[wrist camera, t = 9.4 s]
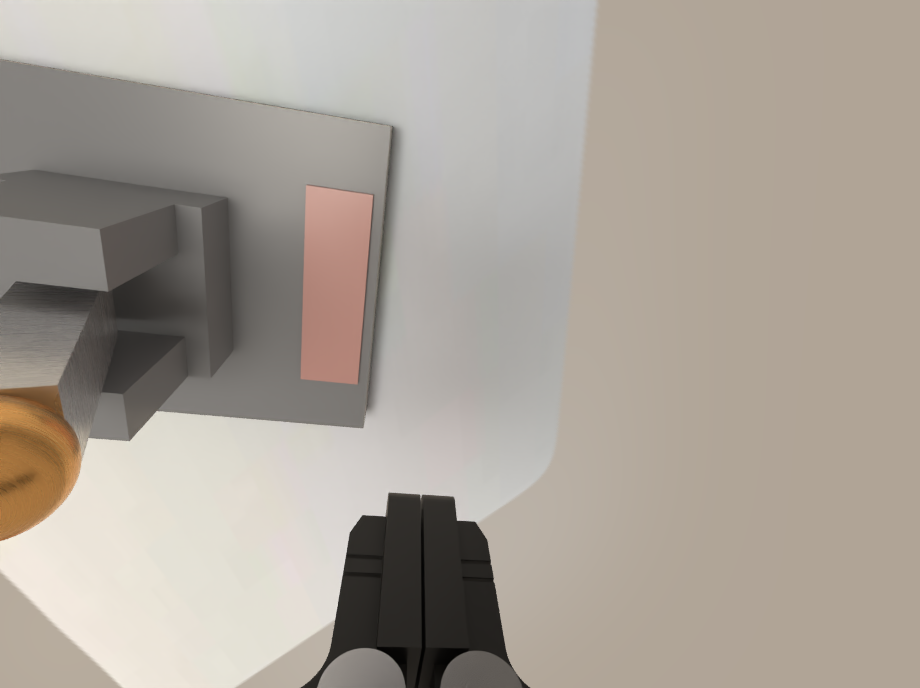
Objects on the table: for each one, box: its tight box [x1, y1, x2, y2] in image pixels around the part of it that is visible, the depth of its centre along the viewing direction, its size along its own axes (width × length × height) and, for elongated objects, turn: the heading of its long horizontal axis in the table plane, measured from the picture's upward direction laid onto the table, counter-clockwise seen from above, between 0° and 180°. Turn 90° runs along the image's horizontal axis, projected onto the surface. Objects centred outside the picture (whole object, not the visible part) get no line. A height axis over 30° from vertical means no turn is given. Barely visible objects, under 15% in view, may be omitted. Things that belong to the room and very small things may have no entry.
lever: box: [0, 281, 118, 541], centre depth 14 cm, size 3×3×13 cm
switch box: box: [0, 59, 393, 441], centre depth 20 cm, size 16×22×10 cm
